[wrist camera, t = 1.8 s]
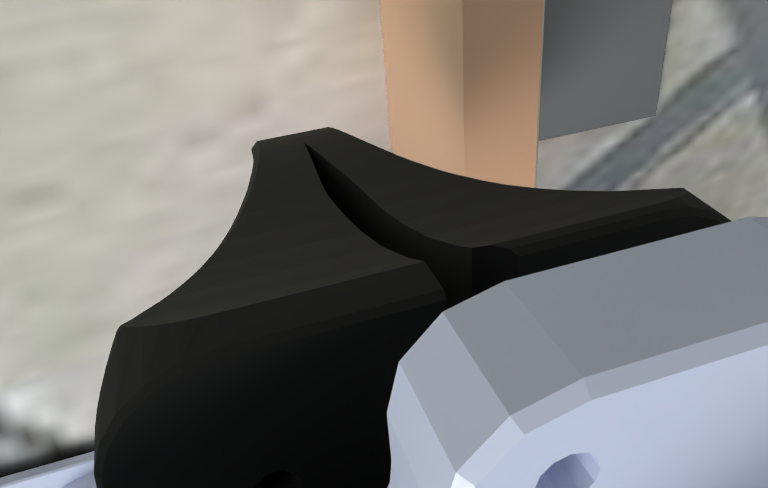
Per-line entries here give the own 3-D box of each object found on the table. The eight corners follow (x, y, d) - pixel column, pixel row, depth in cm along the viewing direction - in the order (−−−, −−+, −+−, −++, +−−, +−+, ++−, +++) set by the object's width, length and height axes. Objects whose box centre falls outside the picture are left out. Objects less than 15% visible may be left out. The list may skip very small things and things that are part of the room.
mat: (647, 110, 21) (655, 115, 21) (462, 150, 20) (468, 156, 19) (677, -112, 18) (688, -111, 17) (459, -83, 16) (467, -81, 16)
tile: (450, 135, 19) (539, 219, 15) (390, 147, 19) (465, 237, 15) (445, -58, 17) (551, -18, 13) (375, -49, 16) (461, -3, 12)
